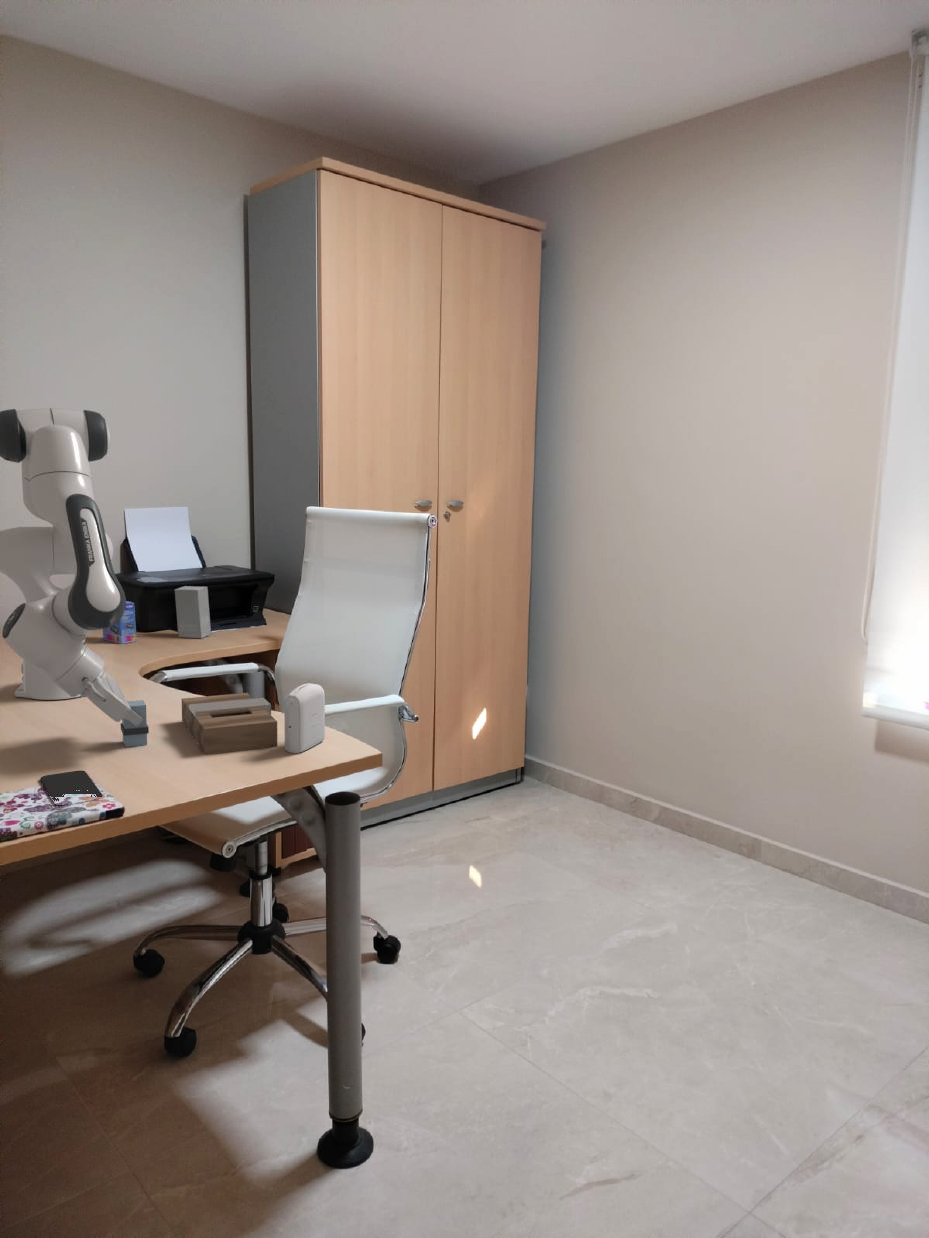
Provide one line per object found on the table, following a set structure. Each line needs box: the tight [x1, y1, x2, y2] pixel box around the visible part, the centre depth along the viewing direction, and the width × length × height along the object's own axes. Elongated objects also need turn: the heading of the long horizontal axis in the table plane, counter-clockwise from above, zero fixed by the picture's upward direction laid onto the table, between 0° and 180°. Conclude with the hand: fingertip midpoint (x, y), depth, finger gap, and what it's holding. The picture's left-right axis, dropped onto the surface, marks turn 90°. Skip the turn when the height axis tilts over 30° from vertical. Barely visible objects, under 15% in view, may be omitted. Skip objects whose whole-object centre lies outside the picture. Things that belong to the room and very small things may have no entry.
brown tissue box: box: [181, 692, 278, 755], centre depth 184 cm, size 24×14×5 cm, turn 27°
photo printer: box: [283, 683, 326, 754], centre depth 177 cm, size 10×4×12 cm, turn 158°
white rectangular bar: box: [189, 697, 272, 717], centre depth 184 cm, size 6×15×4 cm, turn 117°
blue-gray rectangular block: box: [120, 699, 150, 748], centre depth 176 cm, size 5×5×8 cm
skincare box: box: [174, 585, 212, 639], centre depth 283 cm, size 8×7×16 cm
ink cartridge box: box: [102, 600, 137, 645], centre depth 273 cm, size 10×6×14 cm, turn 54°
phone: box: [40, 769, 103, 801], centre depth 151 cm, size 7×1×15 cm
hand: (137, 718), depth 176 cm, fingers closed on blue-gray rectangular block, 4 cm apart
